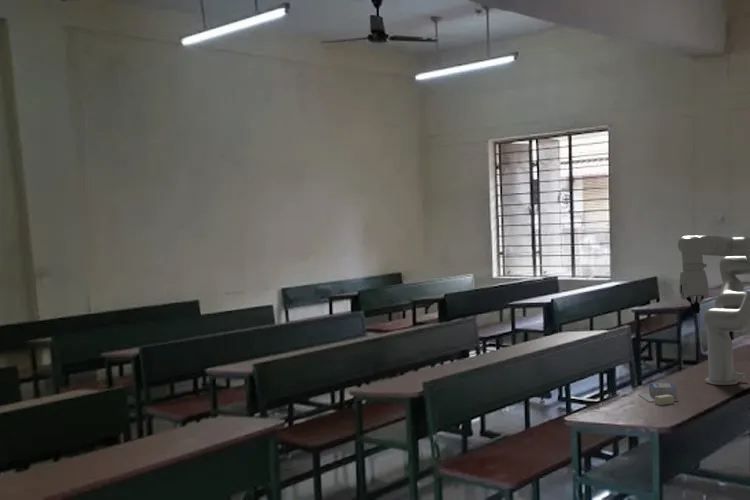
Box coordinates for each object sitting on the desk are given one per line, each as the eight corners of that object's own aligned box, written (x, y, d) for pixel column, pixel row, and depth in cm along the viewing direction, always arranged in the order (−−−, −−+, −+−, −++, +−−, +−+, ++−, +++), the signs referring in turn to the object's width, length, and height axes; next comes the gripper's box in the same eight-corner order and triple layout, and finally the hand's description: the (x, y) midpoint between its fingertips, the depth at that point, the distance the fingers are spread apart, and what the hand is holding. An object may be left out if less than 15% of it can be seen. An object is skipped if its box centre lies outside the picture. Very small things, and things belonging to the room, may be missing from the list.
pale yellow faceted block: (667, 402, 274) (667, 394, 274) (673, 403, 271) (672, 395, 271) (655, 404, 272) (654, 396, 272) (660, 405, 269) (660, 397, 269)
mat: (666, 393, 286) (666, 392, 286) (677, 400, 274) (677, 399, 274) (638, 395, 286) (638, 394, 286) (648, 402, 274) (648, 401, 274)
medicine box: (676, 387, 276) (653, 387, 278) (677, 398, 276) (653, 398, 278) (671, 382, 284) (648, 383, 285) (671, 394, 284) (649, 394, 286)
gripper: (707, 265, 289) (710, 310, 290) (670, 268, 290) (673, 312, 291) (715, 266, 281) (718, 312, 282) (677, 269, 282) (680, 315, 283)
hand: (695, 312), depth 286 cm, fingers closed
